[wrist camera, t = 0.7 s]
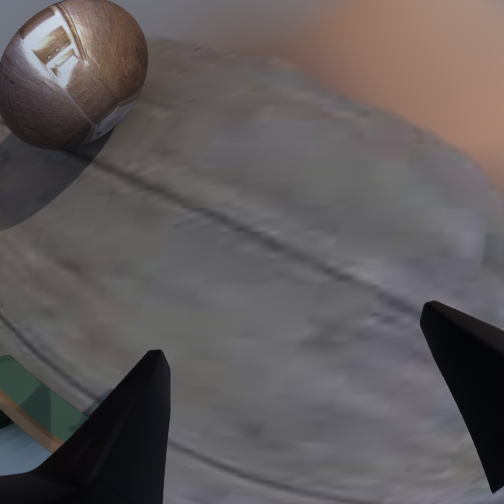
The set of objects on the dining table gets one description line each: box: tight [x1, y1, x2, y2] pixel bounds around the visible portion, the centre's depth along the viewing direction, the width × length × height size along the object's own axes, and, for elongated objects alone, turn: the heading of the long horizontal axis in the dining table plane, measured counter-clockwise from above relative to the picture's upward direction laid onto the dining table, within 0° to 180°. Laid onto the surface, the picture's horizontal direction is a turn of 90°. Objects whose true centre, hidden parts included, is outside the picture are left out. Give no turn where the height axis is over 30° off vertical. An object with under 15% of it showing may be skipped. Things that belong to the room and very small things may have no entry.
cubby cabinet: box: [0, 355, 89, 454], centre depth 16 cm, size 13×19×10 cm
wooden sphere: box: [0, 0, 148, 150], centre depth 19 cm, size 15×15×15 cm
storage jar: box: [0, 423, 52, 476], centre depth 15 cm, size 7×7×13 cm
